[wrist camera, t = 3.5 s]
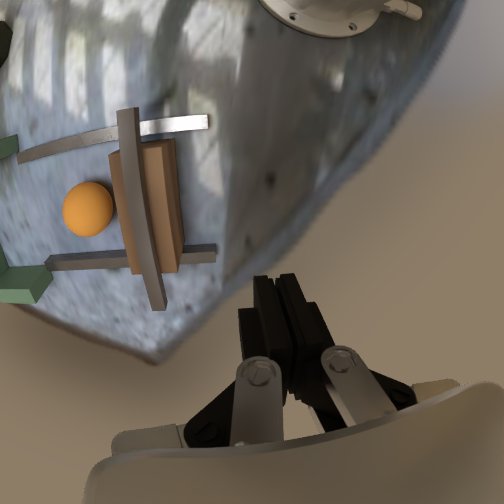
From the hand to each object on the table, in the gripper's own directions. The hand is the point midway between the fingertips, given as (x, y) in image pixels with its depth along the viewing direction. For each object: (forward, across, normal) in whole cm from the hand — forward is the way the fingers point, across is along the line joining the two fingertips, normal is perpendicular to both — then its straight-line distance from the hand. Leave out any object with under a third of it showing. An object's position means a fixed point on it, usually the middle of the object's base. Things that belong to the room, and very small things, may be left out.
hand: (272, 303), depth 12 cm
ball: (+13, +14, -1) cm, 20 cm away
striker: (+16, +8, -1) cm, 18 cm away
